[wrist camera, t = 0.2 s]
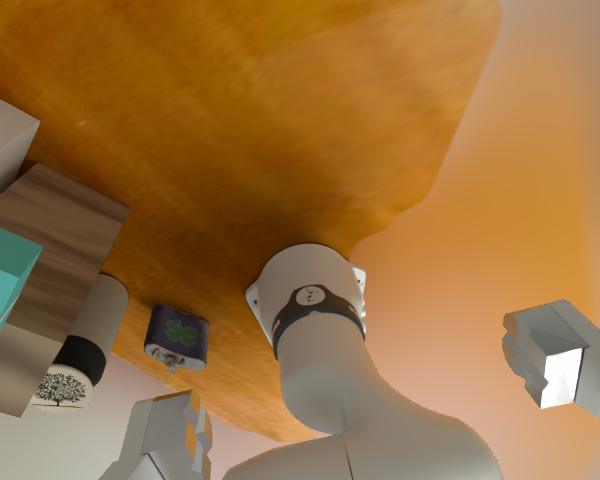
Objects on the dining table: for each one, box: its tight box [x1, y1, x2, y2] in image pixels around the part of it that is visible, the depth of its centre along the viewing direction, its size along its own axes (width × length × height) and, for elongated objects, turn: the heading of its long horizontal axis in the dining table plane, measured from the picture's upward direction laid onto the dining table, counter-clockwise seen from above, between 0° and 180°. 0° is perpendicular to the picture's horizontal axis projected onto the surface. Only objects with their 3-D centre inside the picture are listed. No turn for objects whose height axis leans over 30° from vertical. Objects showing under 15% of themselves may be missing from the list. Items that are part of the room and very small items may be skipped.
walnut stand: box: [0, 162, 131, 417], centre depth 46 cm, size 10×12×26 cm
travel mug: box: [29, 274, 129, 413], centre depth 56 cm, size 8×8×18 cm
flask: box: [144, 304, 210, 373], centre depth 63 cm, size 9×3×11 cm, turn 58°
